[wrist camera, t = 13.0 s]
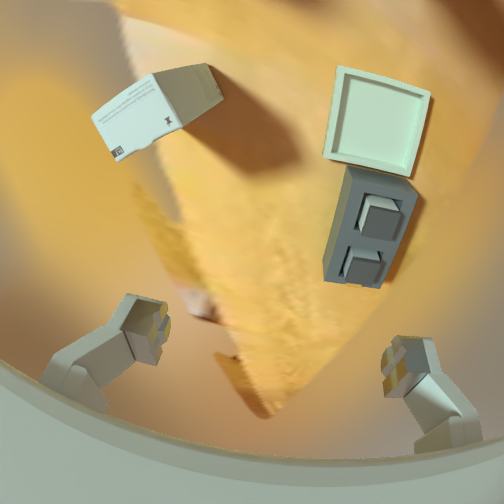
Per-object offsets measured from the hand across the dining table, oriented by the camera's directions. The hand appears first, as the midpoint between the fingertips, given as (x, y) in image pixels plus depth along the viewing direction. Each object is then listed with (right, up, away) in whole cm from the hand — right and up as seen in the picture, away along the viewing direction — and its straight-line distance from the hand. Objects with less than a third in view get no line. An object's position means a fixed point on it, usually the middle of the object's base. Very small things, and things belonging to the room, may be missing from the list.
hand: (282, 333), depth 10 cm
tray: (+14, +19, +22) cm, 33 cm away
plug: (+15, +9, +28) cm, 33 cm away
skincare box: (-9, +23, +24) cm, 34 cm away
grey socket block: (+15, +7, +31) cm, 35 cm away
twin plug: (+15, +3, +33) cm, 36 cm away
